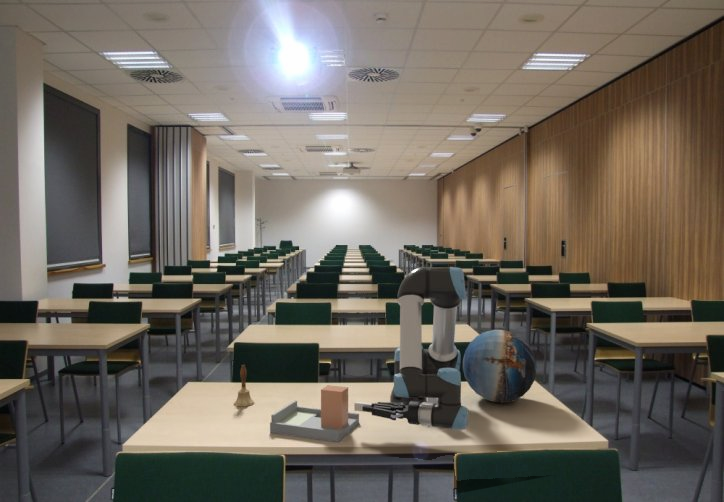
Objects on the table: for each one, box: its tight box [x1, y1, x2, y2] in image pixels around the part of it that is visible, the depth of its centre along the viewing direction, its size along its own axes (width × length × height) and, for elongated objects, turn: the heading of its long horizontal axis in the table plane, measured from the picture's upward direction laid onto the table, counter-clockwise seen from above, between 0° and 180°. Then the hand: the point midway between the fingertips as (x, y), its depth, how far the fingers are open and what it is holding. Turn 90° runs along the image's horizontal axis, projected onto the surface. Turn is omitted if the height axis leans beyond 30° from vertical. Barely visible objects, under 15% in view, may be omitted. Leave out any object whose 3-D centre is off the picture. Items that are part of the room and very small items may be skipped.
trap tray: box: [269, 399, 360, 443], centre depth 199 cm, size 26×20×6 cm
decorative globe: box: [462, 329, 537, 404], centre depth 231 cm, size 30×30×30 cm
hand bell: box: [233, 364, 255, 408], centre depth 227 cm, size 8×8×16 cm
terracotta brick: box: [320, 384, 349, 429], centre depth 197 cm, size 8×6×13 cm
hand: (355, 406), depth 194 cm, fingers closed
